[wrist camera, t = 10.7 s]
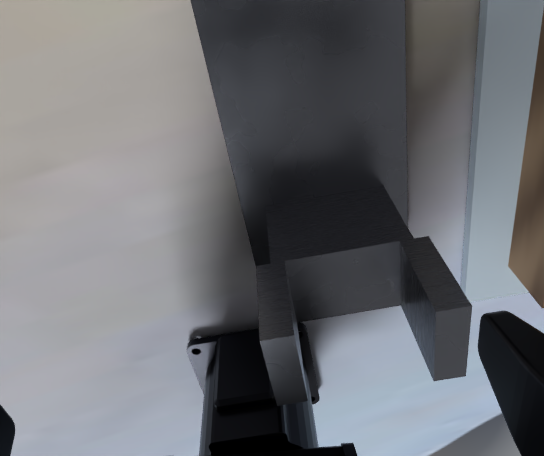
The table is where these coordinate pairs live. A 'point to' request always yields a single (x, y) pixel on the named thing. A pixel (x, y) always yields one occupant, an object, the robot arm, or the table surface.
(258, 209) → the dark grey u-shaped stand
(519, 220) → the walnut bar
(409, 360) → the table surface
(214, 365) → the robot arm
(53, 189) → the table surface
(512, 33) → the blue-grey mat
